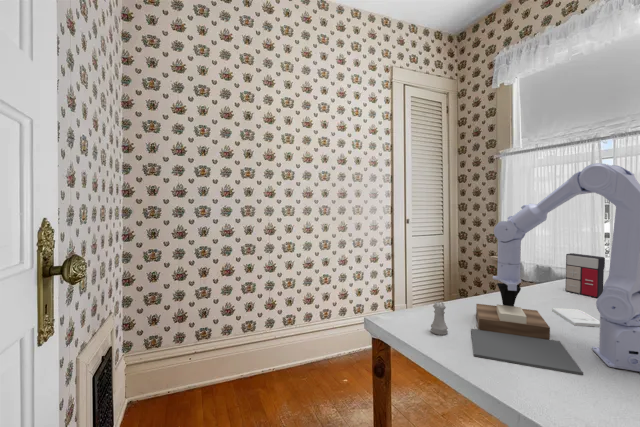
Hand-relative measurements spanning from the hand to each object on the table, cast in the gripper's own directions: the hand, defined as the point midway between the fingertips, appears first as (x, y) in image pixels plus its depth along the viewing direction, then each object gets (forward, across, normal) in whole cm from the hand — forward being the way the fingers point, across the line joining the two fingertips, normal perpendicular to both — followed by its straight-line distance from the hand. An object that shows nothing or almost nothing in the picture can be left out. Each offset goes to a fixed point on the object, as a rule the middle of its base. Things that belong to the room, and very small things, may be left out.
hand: (508, 309), depth 92 cm
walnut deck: (+4, +2, 0) cm, 5 cm away
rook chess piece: (+4, +15, -18) cm, 24 cm away
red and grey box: (+4, -46, +31) cm, 55 cm away
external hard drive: (+5, -13, +20) cm, 24 cm away
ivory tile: (+1, +5, 0) cm, 5 cm away
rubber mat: (+4, +18, 0) cm, 18 cm away
